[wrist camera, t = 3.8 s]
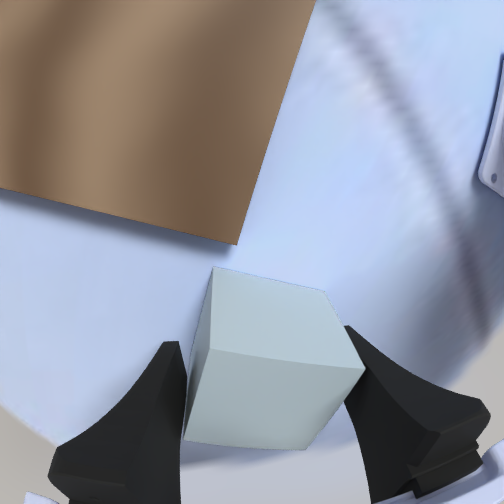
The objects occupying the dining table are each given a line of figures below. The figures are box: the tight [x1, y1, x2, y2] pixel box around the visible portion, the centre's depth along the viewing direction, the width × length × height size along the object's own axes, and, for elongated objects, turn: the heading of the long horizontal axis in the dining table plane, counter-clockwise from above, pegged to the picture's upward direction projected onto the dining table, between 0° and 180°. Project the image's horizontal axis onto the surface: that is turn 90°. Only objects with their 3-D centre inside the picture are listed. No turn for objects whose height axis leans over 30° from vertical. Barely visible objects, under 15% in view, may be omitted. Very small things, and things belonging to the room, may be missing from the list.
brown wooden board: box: [0, 0, 316, 245], centre depth 8 cm, size 16×14×1 cm
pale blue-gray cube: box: [183, 266, 365, 450], centre depth 12 cm, size 5×5×5 cm
